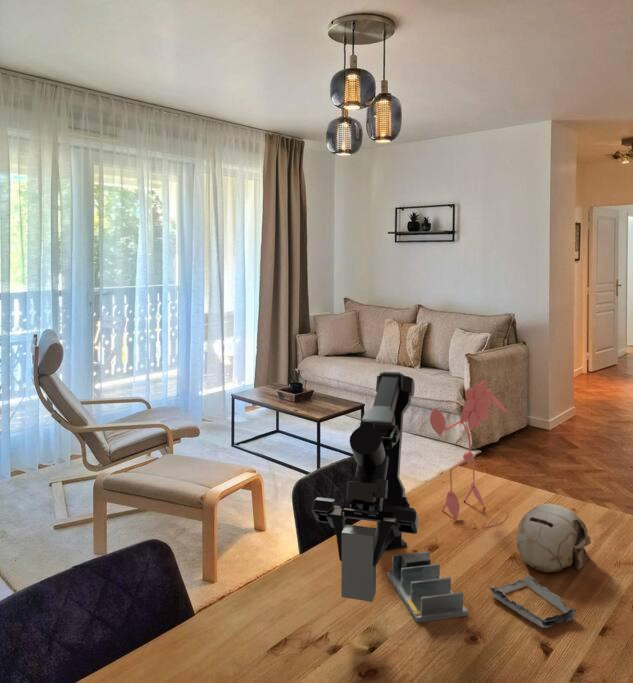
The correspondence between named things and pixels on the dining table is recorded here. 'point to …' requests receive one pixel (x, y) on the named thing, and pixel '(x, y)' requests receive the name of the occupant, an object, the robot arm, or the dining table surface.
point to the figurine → (474, 413)
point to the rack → (425, 588)
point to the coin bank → (552, 538)
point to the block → (358, 562)
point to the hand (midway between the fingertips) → (357, 563)
